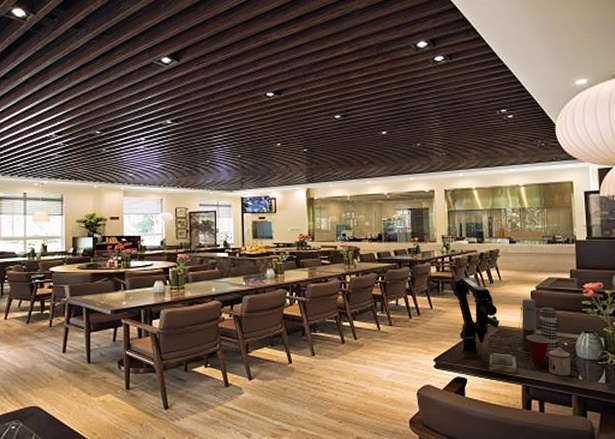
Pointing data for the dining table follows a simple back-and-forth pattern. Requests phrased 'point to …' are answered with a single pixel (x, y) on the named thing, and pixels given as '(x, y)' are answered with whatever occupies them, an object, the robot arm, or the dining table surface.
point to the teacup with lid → (559, 362)
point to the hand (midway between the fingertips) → (482, 341)
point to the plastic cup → (538, 347)
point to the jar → (485, 341)
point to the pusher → (502, 359)
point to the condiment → (526, 340)
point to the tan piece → (503, 368)
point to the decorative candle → (549, 327)
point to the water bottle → (528, 315)
